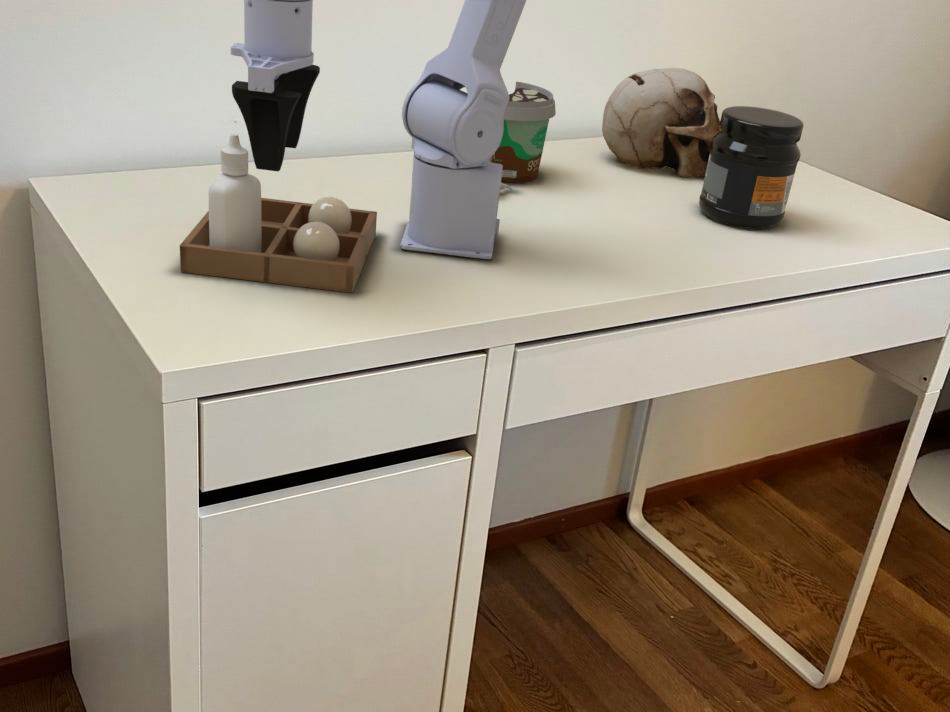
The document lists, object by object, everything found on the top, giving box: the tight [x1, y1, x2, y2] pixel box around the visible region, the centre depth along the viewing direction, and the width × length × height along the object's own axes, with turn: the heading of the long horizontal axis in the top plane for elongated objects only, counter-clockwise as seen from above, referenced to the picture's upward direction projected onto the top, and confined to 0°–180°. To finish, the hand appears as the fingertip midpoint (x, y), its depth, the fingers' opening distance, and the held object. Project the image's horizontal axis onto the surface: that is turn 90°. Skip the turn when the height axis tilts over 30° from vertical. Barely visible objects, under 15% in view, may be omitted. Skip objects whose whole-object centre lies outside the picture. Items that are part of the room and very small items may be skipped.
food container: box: [494, 81, 557, 185], centre depth 138 cm, size 12×6×10 cm, turn 168°
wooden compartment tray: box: [179, 197, 378, 294], centre depth 109 cm, size 16×16×3 cm
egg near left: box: [308, 196, 352, 234], centre depth 112 cm, size 4×4×4 cm
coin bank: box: [601, 67, 721, 178], centre depth 150 cm, size 16×17×13 cm
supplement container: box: [698, 105, 805, 230], centre depth 133 cm, size 10×10×12 cm
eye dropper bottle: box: [208, 133, 263, 253], centre depth 103 cm, size 4×6×12 cm
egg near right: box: [293, 222, 340, 261], centre depth 105 cm, size 4×4×4 cm
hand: (277, 157), depth 101 cm, fingers open, 7 cm apart
